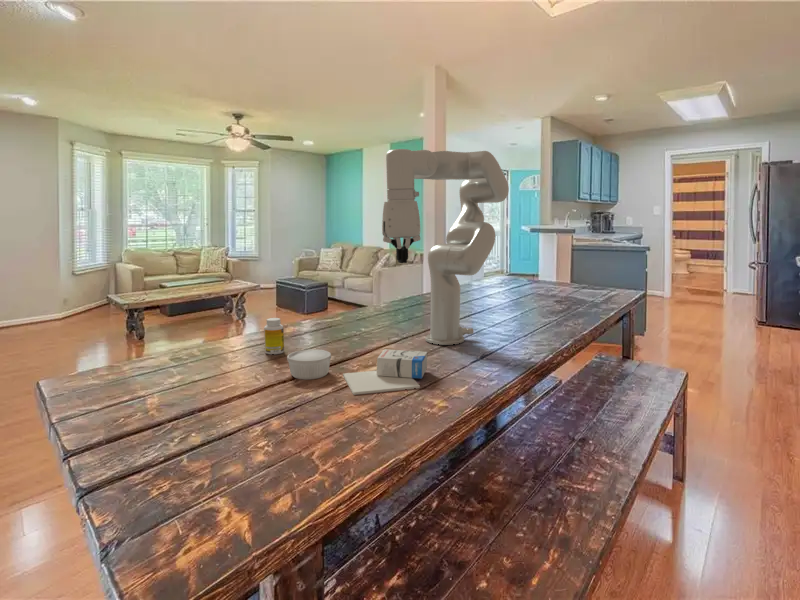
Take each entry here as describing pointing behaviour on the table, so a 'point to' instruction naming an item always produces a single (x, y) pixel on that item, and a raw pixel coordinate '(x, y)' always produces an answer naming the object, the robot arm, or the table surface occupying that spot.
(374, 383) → the rubber mat
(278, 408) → the table surface
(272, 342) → the supplement bottle
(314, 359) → the ramekin
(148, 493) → the table surface
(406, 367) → the ink box
